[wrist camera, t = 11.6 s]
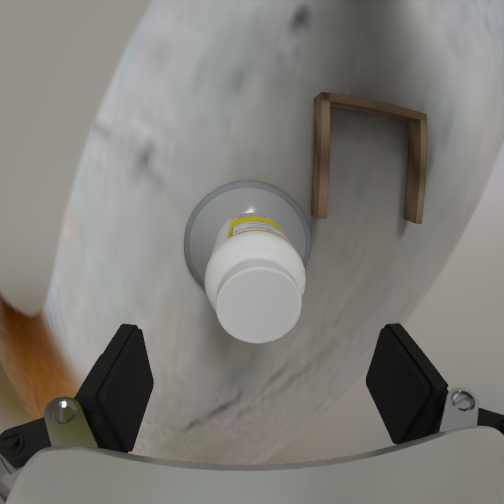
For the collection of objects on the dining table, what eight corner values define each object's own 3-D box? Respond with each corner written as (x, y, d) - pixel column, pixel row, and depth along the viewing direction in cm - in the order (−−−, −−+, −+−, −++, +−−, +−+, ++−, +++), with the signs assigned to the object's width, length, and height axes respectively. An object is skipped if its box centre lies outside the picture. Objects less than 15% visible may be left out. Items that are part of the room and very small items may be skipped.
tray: (183, 181, 26) (181, 181, 25) (312, 183, 27) (315, 183, 26) (188, 300, 30) (187, 303, 29) (304, 300, 30) (306, 304, 29)
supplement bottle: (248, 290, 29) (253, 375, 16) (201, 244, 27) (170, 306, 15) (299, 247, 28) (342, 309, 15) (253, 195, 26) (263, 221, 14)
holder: (314, 98, 24) (321, 92, 22) (413, 116, 25) (426, 114, 22) (311, 213, 28) (317, 218, 25) (409, 219, 28) (421, 223, 26)
